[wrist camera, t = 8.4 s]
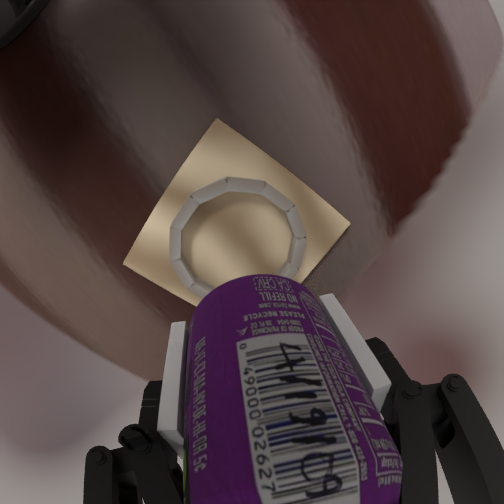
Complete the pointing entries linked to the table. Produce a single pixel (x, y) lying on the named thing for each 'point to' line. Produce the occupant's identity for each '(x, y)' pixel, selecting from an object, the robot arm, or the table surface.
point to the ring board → (232, 220)
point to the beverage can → (278, 405)
